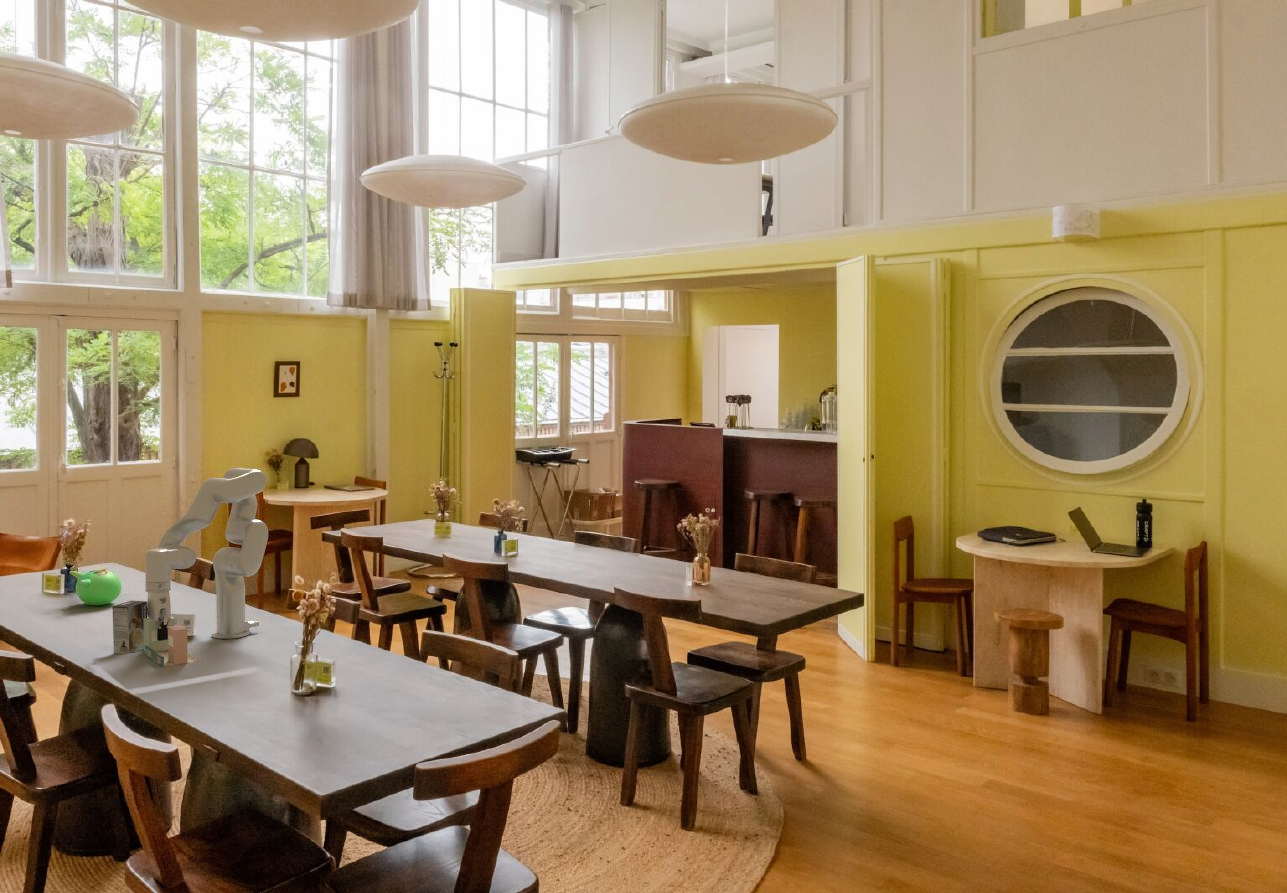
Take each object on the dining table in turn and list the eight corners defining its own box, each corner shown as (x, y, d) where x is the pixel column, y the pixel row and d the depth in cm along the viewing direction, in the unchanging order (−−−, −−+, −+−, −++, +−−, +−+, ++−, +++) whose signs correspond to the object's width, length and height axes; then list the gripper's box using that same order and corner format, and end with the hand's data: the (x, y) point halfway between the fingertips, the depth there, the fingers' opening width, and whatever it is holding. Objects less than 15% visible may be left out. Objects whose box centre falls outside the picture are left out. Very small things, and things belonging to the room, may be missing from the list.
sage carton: (169, 650, 332) (169, 615, 331) (174, 653, 328) (174, 617, 328) (144, 654, 327) (143, 618, 326) (148, 657, 323) (148, 621, 322)
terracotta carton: (181, 658, 317) (181, 624, 316) (187, 662, 313) (187, 628, 312) (167, 660, 314) (167, 626, 314) (173, 664, 310) (173, 630, 309)
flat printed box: (180, 653, 328) (180, 640, 328) (199, 665, 315) (198, 651, 315) (144, 659, 321) (144, 645, 321) (162, 671, 308) (161, 657, 307)
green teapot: (128, 605, 396) (127, 569, 395) (81, 611, 384) (81, 574, 383) (112, 598, 408) (111, 563, 407) (66, 604, 396) (66, 568, 395)
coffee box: (132, 646, 336) (131, 599, 335) (148, 647, 335) (148, 601, 334) (112, 653, 327) (111, 605, 326) (129, 654, 326) (128, 606, 325)
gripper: (178, 589, 322) (178, 640, 323) (162, 580, 335) (161, 630, 336) (154, 591, 317) (153, 644, 318) (138, 583, 330) (138, 633, 331)
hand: (158, 637), depth 327 cm, fingers open, 9 cm apart
